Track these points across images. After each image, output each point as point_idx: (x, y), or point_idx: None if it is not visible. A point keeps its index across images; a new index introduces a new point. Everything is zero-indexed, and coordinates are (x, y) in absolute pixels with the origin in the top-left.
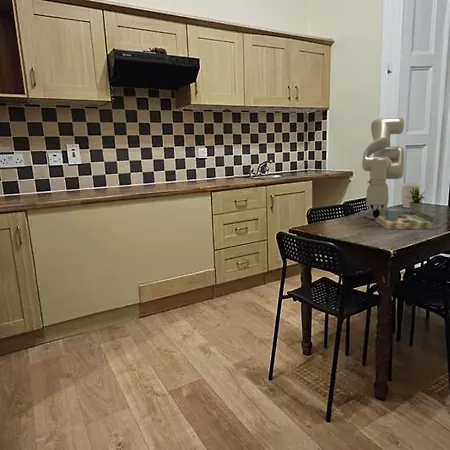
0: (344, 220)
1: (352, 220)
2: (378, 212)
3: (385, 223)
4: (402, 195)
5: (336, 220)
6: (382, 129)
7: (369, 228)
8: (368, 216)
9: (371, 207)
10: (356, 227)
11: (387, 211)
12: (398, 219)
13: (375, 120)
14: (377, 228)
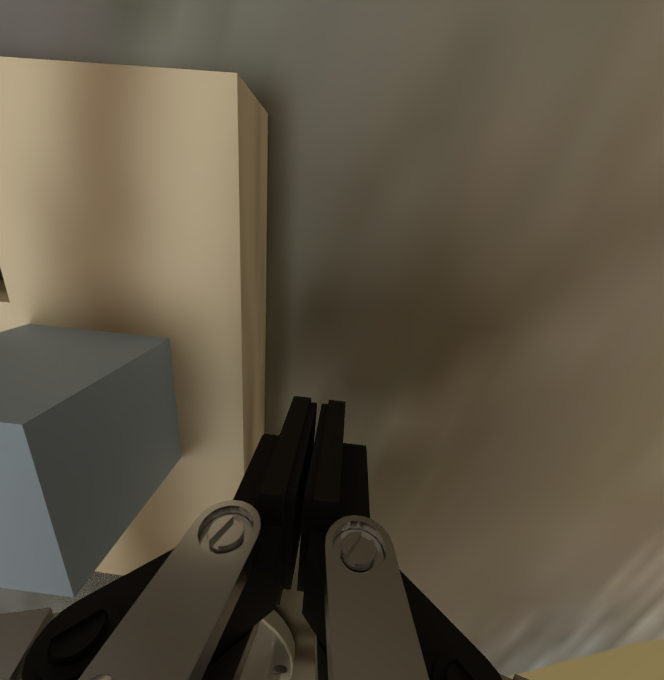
0: (538, 603)
1: (463, 590)
2: (275, 456)
3: (247, 213)
4: None
5: (614, 616)
6: None
7: (485, 203)
8: (285, 644)
9: (454, 638)
10: (622, 288)
11: (69, 463)
12: None
13: None
14: (379, 189)
